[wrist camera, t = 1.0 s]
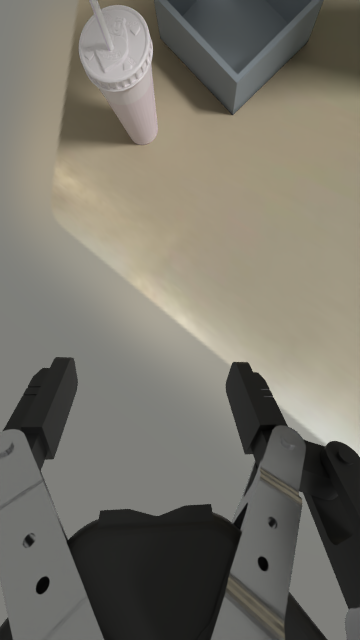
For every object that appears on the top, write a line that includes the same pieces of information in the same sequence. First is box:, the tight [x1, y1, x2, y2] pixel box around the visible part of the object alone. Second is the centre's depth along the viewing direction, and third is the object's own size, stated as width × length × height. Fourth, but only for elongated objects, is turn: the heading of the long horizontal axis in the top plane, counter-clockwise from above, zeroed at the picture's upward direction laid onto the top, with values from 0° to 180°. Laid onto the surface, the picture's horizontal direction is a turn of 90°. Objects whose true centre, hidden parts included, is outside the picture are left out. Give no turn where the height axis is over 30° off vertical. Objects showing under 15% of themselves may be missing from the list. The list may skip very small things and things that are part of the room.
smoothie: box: [79, 0, 158, 145], centre depth 23 cm, size 6×6×14 cm
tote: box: [154, 0, 323, 115], centre depth 26 cm, size 13×11×4 cm
